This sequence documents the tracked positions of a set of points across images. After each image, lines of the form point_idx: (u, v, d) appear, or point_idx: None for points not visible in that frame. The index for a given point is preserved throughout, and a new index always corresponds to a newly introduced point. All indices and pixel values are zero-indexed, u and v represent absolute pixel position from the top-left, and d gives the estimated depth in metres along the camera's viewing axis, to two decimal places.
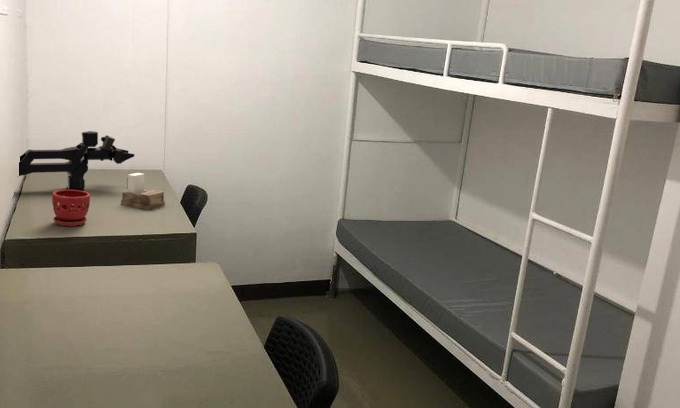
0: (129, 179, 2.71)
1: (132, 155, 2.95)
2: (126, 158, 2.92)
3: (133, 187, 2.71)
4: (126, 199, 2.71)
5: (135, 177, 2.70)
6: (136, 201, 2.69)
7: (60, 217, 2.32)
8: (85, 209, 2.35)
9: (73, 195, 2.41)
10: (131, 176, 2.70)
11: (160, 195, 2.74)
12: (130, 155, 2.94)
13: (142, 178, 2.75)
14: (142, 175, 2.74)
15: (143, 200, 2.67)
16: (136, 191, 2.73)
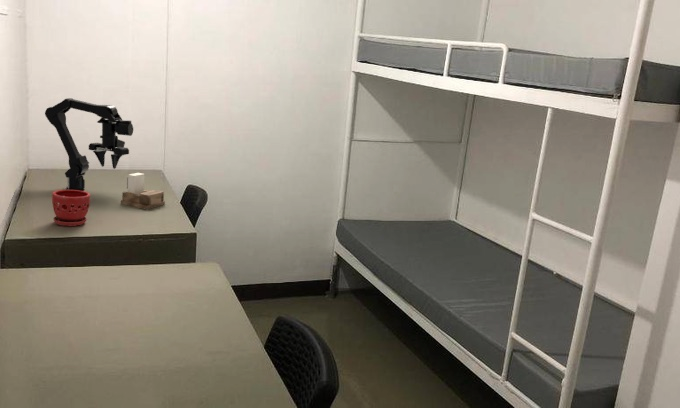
0: (129, 179, 2.71)
1: (115, 166, 2.83)
2: (114, 160, 2.81)
3: (133, 187, 2.71)
4: (126, 199, 2.71)
5: (135, 177, 2.70)
6: (136, 201, 2.69)
7: (60, 217, 2.32)
8: (85, 209, 2.35)
9: (73, 195, 2.41)
10: (131, 176, 2.70)
11: (160, 195, 2.74)
12: (115, 164, 2.83)
13: (142, 178, 2.75)
14: (142, 175, 2.74)
15: (143, 200, 2.67)
16: (136, 191, 2.73)
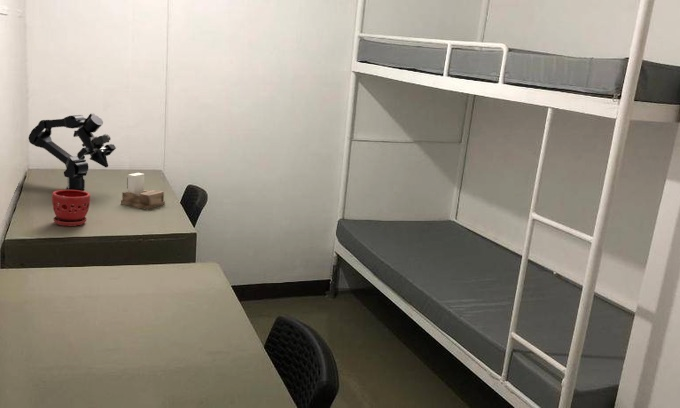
0: (129, 179, 2.71)
1: (104, 165, 2.78)
2: (98, 161, 2.78)
3: (133, 187, 2.71)
4: (126, 199, 2.71)
5: (135, 177, 2.70)
6: (136, 201, 2.69)
7: (60, 217, 2.32)
8: (85, 209, 2.35)
9: (73, 195, 2.41)
10: (131, 176, 2.70)
11: (160, 195, 2.74)
12: (103, 163, 2.78)
13: (142, 178, 2.75)
14: (142, 175, 2.74)
15: (143, 200, 2.67)
16: (136, 191, 2.73)
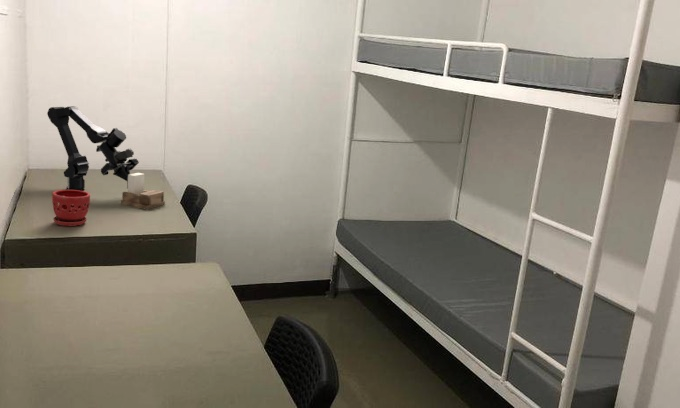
0: (129, 179, 2.71)
1: None
2: (121, 176, 2.74)
3: (133, 187, 2.71)
4: (126, 199, 2.71)
5: (135, 177, 2.70)
6: (136, 201, 2.69)
7: (60, 217, 2.32)
8: (85, 209, 2.35)
9: (73, 195, 2.41)
10: (131, 176, 2.70)
11: (160, 195, 2.74)
12: (126, 178, 2.74)
13: (142, 178, 2.75)
14: (142, 175, 2.74)
15: (143, 200, 2.67)
16: (136, 191, 2.73)
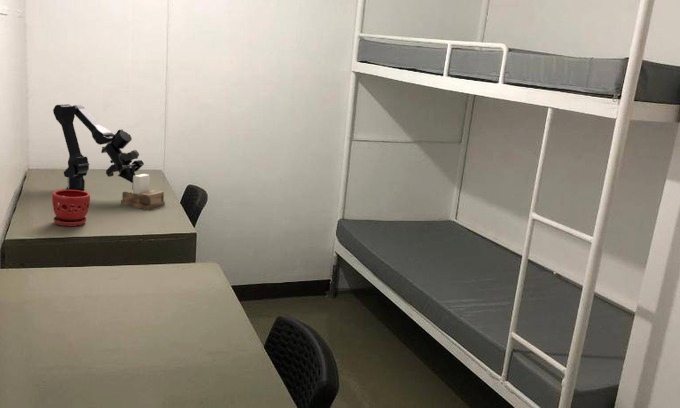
0: (134, 180, 2.70)
1: None
2: (126, 178, 2.73)
3: (138, 188, 2.70)
4: (126, 199, 2.71)
5: (140, 178, 2.69)
6: (136, 201, 2.69)
7: (60, 217, 2.32)
8: (85, 209, 2.35)
9: (73, 195, 2.41)
10: (136, 177, 2.69)
11: (160, 195, 2.74)
12: (131, 180, 2.73)
13: (147, 179, 2.74)
14: (147, 176, 2.73)
15: (143, 200, 2.67)
16: (142, 192, 2.72)
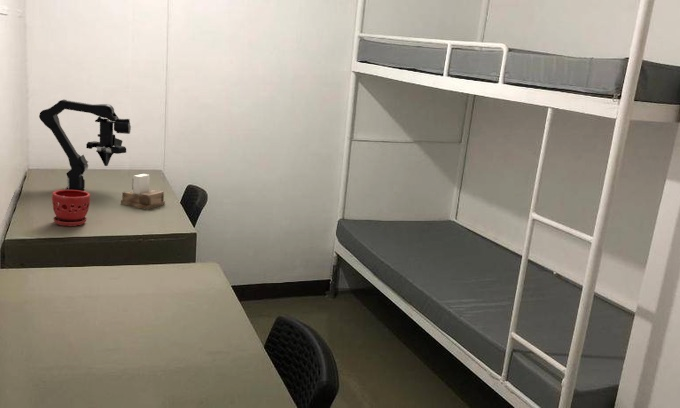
0: (134, 180, 2.70)
1: (107, 163, 2.87)
2: (106, 158, 2.85)
3: (138, 188, 2.70)
4: (126, 199, 2.71)
5: (140, 178, 2.69)
6: (136, 201, 2.69)
7: (60, 217, 2.32)
8: (85, 209, 2.35)
9: (73, 195, 2.41)
10: (136, 177, 2.69)
11: (160, 195, 2.74)
12: (107, 161, 2.87)
13: (147, 179, 2.74)
14: (147, 176, 2.73)
15: (143, 200, 2.67)
16: (142, 192, 2.72)
